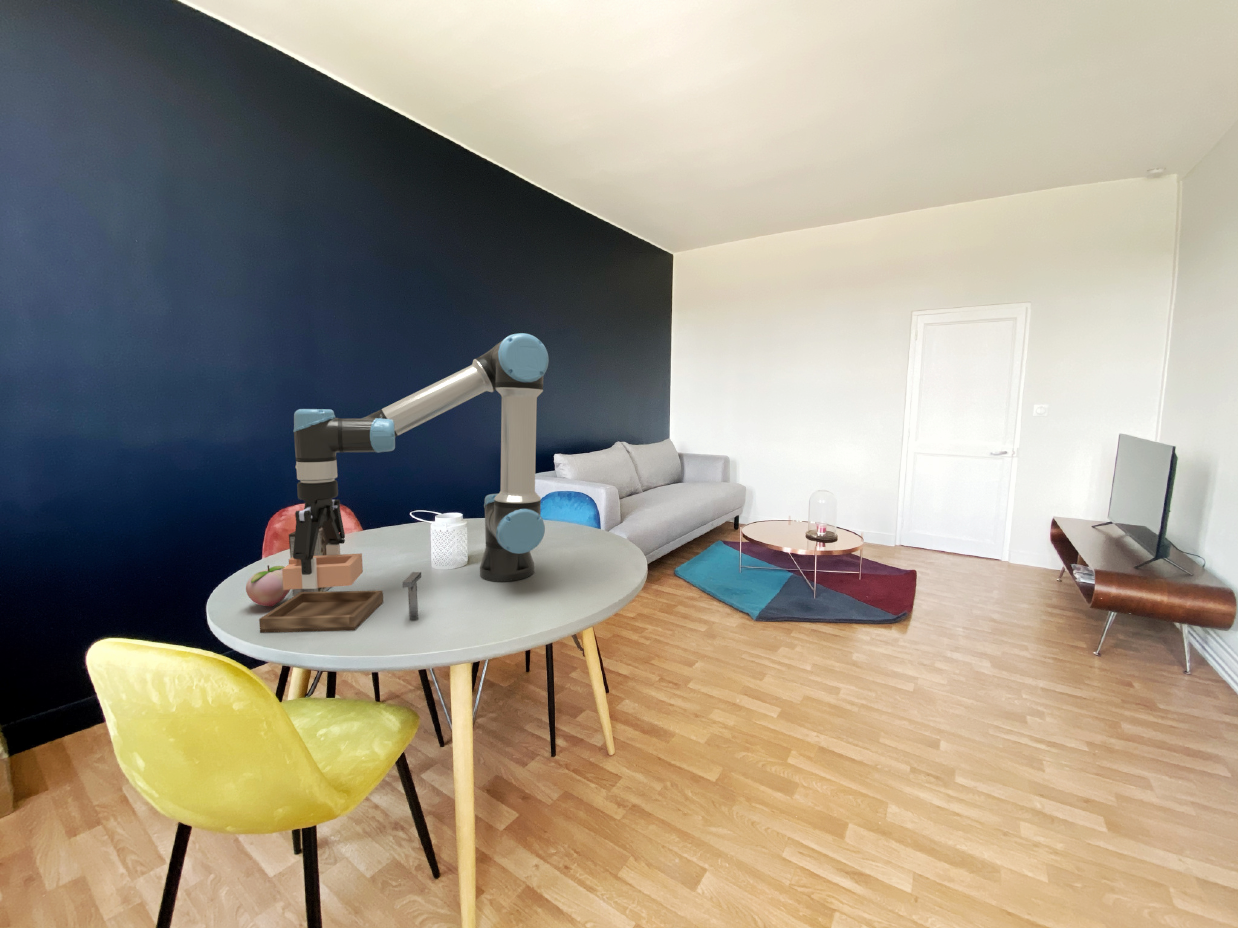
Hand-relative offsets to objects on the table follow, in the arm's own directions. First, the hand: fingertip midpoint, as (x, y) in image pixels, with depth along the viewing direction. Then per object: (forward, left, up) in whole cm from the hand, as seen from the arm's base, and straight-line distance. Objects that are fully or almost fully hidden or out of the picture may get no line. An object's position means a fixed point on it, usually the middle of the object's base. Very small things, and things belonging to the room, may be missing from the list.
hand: (322, 579), depth 109 cm
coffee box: (+11, -17, -9) cm, 22 cm away
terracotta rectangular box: (0, 0, 0) cm, 1 cm away
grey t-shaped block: (-20, +2, -9) cm, 22 cm away
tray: (0, 0, -9) cm, 9 cm away
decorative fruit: (+16, -7, -9) cm, 19 cm away
